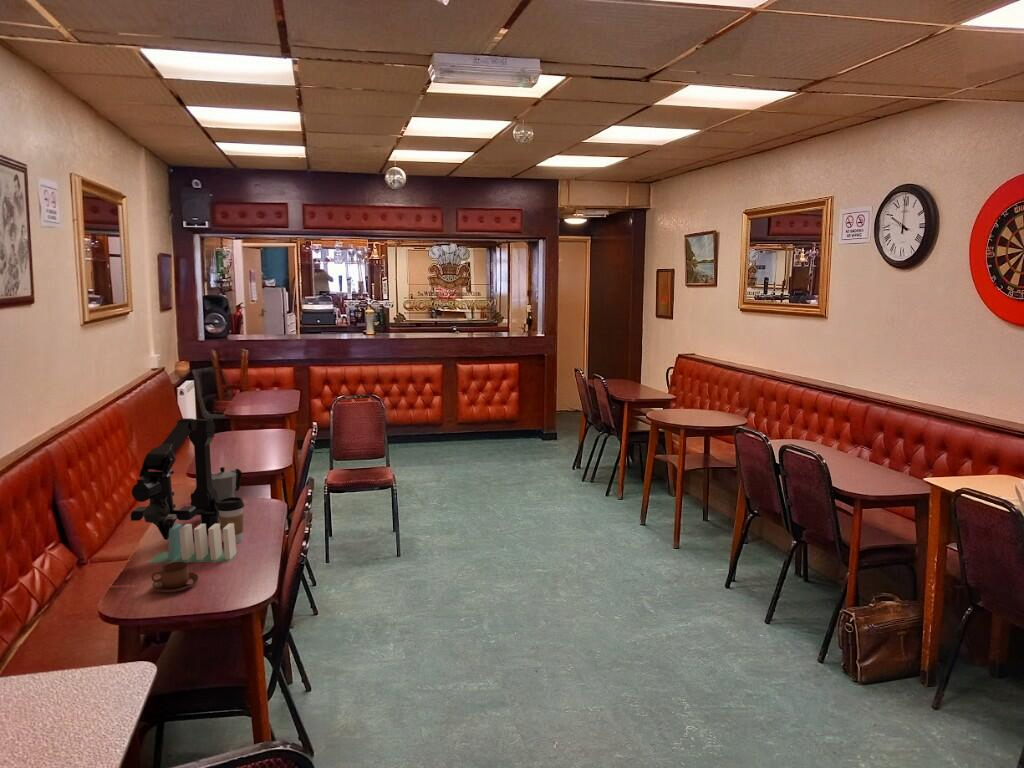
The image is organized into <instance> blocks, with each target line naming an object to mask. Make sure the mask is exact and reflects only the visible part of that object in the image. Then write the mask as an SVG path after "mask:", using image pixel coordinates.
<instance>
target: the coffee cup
mask: <svg viewBox="0 0 1024 768" xmlns="http://www.w3.org/2000/svg"><path fill="white" fill-rule="evenodd" d="M244 507H245V503H244V502H243V498H242V497H239V496H235V497H230V498H225V499H222V500H220V501H218V506H217V510H219V524H220V525H221V529H220V530H221V535H223V528H224V527H225V526H227V525H228V524H229V523H234V530H235V542H236V545H237V544H239V543H242V542H243V541H244V517H245V516H244V513H245V512H244Z"/></svg>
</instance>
